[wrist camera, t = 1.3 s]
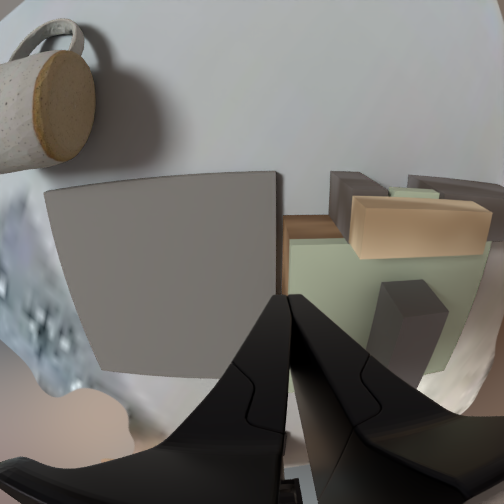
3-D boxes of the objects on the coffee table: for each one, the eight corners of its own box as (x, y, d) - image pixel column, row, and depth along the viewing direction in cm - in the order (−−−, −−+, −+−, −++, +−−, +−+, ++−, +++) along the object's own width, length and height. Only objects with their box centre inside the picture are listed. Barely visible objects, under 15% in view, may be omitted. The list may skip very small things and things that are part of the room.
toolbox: (457, 330, 25) (479, 360, 21) (279, 350, 26) (284, 392, 21) (498, 184, 19) (535, 203, 14) (282, 170, 19) (292, 188, 15)
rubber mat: (273, 373, 27) (273, 377, 26) (103, 366, 27) (101, 370, 27) (275, 170, 19) (275, 172, 19) (47, 190, 19) (43, 192, 19)
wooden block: (464, 240, 16) (482, 254, 14) (348, 242, 16) (360, 259, 14) (472, 201, 14) (492, 212, 13) (352, 195, 15) (365, 208, 13)
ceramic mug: (103, 154, 18) (36, 179, 11) (20, 164, 18) (-48, 190, 11) (110, 11, 14) (50, -24, 7) (23, 38, 14) (-43, 29, 7)
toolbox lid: (440, 364, 22) (459, 399, 18) (283, 385, 22) (287, 430, 18) (493, 194, 15) (535, 218, 11) (290, 185, 15) (303, 211, 12)
